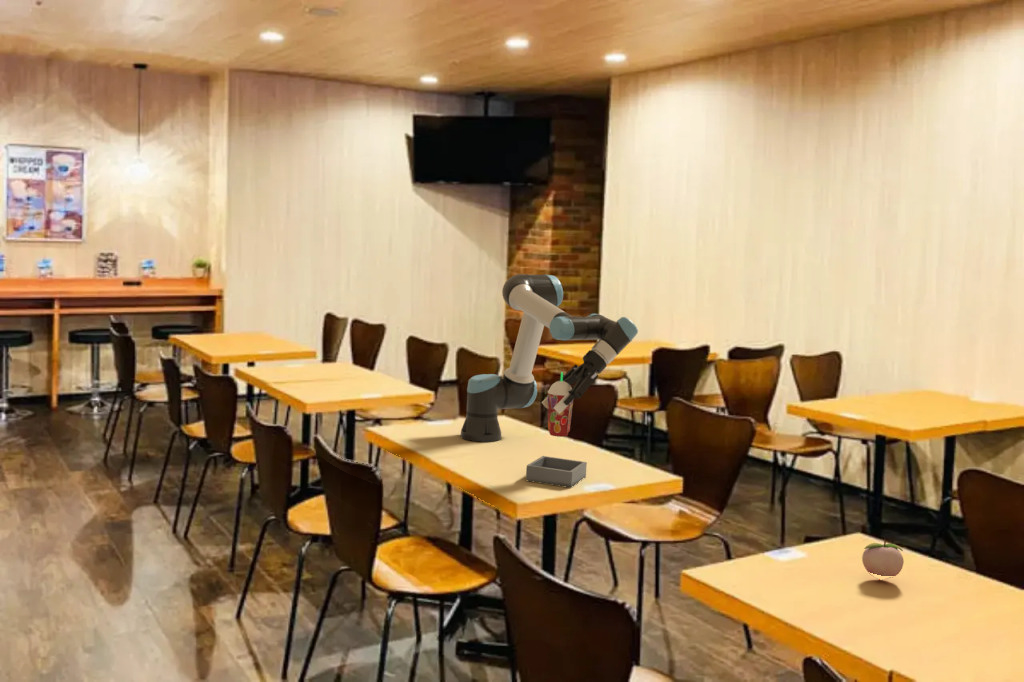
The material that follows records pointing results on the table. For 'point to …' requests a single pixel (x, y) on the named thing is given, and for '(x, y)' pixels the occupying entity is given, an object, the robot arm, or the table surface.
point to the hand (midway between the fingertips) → (550, 408)
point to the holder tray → (556, 471)
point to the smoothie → (556, 422)
